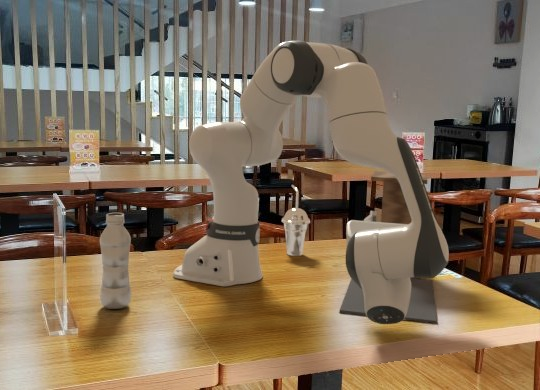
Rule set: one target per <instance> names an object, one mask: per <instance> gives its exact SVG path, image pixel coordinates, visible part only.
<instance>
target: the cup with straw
mask: <svg viewBox="0 0 540 390" xmlns="http://www.w3.org/2000/svg"><path fill="white" fill-rule="evenodd" d="M291 187H292V188H293V190H294V191H295V192H296V193H295V195H296V196H295V207H292V208H290V209H288V210H287V211H286V212H285V214H284V216H283V217H282V218H281V223H283V226H284V227H283V228H284V231H285V233H284V234H285V247H286V248H285V249H286V251H287V252H286V254H287V255H288V256H291V257H292V256H293V257H301V256H302V255H303V252H304V244H305V240H306V232H307V229H308V225H309V224H311V220H310V218H309V217H308V214H307V212H306V211H305V210H304V209H302V208H299V198H300V197H299V195H300V194H299V193H300V192H299V189H298V188H297V187H296V186H295V185H294V184H291Z"/></svg>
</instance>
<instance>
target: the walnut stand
mask: <svg viewBox="0 0 540 390" xmlns="http://www.w3.org/2000/svg"><path fill="white" fill-rule="evenodd" d="M421 176H422V179H423V182H424V185H427V184H428V176H427V174H426V173H421ZM370 181H371V182H373V181H374V182H383V185H382V198H381V199H382V200H381V214H380V215H381V216H380V218H381V219H380V222H384V223H397V224H410V223H411V222H412V219H411V216H410V213H409V210H408V207H407V204H406V201H405V198H404V195H403V192H402V189H401V186H400V183H399V181H398V180H397V178H396V177H395V176H394V175H392V174H391V173H389V172H387V171H381V170H380V171H378V170H375V171H374V172H373V173H372V175H371V176H370ZM412 278H415V277H412ZM416 279H421V278H416Z"/></svg>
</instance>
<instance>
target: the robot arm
mask: <svg viewBox="0 0 540 390" xmlns="http://www.w3.org/2000/svg"><path fill="white" fill-rule="evenodd" d="M299 96H303V97H308V98H311V99H312V98H313V99H314V98H315V99H324V101H325V103H326V107H327V113H328V115H327V116H328V122H329V123H328V124H329V130H330V137H331V141H332V144H333V147H334V150H335V151H336V152H337V154H338V155H339V156H340V157H341V158H342V159H344V160H345V161H347V162H349V163H351V164H354V165H357V166H361V167H366V168H371V169H376V170H380V171H383V172H389V173H391V174H392V175H394V176H395V177H396V178H397V180H398V181H399V183H400V186H401V189H402V192H403V195H404V198H405V201H406V204H407V207H408V210H409V213H410V216H411V219H412V222H411V223H410V224H397V223H384V222H381V221H377V220H378V219H377V218H378V211H377V210H375V211H374V210H370V212H369V215H367V216H366V217H365V218H364V219H363V220H356V219H351V220H349V221H347V223H346V227H345V228H346V230H345V231H346V232H345V235H346V247H345V248H346V249H345V268H346V270H347V273H348V275H349V277H350V278H352V280H353V281H354V282H355V283H356V284H357V285H358V286H359V287H360V288H361V289H363V295H364V308H365V314H366V318H367V319H368V320H370V321H371V322H374V323H375V324H380V325H393V324H399V323H401V322H402V321H405V320H404V318H405V317H406V315H407V312H408V308H409V303H410V297H411V280H410V278H412V277H415V278H420V279H434V278H436V277H437V276H438V275H439V274H440V273H441V272H442V271H443V270H444V269H445V268H446V266H447V265H448V264H449V259H450V258H449V255H450V253H449V245H448V242H447V239H446V237H445V235H444V233H443V230H442V228H441V227H440V224H439V222H438V220H437V217H436V214H435V212H434V211H435V210H434V209H433V205H432V203H431V200H430V197H429V194H428V191H427V188H426V184H424V182H423V179H422V176H421V174H422V173H421V171H420V168H419V165H418V163H417V160H416V157H415V155H414V153H413V150H412V149H411V146H410V144H409V143H408V142H407V140H406V139H405V138H402V137H399V136H397V135H396V133H394V131H393V130H392V128H391V125H390V124H389V121H388V114H387V109H386V104H385V103H386V102H385V98H384V95H383V90H382V88H381V85H380V81H379V79H378V76H377V74H376V71H375V70H374V68H373V67H372V66H370V65H369V64H368V61H367V59H366V58H365V57H364V55H362V54H361V53H359V52H358V51H357V50H354V49H352V48H350V47H349V48H348V47H342V46H340V45H336V44H331V43H328V42H327V43H325V42H323V43H322V42H310V41H308V42H307V41H304V40H299V39H298V40H290V41H288V40H287V41H282V42H281V43H279V44H278V45H277V46H275V47H274V48H273V50H272V51H270V53H269V54H268V55H267V56H266V57H265V59H263V61H262V62H261V64H260V65H259V66H258V68H257V69H256V71H255V72H254V74H253V75H252V77H251V79H250V81H249V82H248V84H247V85H246V87H245V89H244V90H243V92H242V93H241V95H240V99H239V106H240V110H241V113H242V115H243V116H244V118H242V119H241V120H239V121H214V122H209V123H204V124H200V125H198V126H196V127H195V128H194V129H193V131H192V132H191V135H190V137H189V142H188V148H189V153H190V155H191V157H192V159H193V161H194V162H195V163H196V164H197V165H199V166H200V167H201V168H202V169H203V170H204V172H205V173H206V175H207V177H208V179H209V181H210V185H211V189H212V194H213V196H212V197H213V218H212V219H210V220H209V222H207V223H206V225H204V229H203V230H205V231H206V232H205V233H206V235H204V236H203V237H201V238H200V239H199V240H198V241H196V242H194V244H192V245H191V246H189V247H188V248H187V250H186V251H185V252H184V255H183V258H182V264H180V265H179V266H177V267H176V268H175V269H174V270H173V275H172V276H173V277H174V278H175V279H178V280H179V279H180V280H186V281H192V282H196V283H202V284H207V285H212V286H213V285H214V286H219V287H230V286H235V285H241V284H243V285H244V284H249V283H253V282H254V283H255V282H257V281H260V280H261V279H262V278H263V276H264V275H263V272H262V267H261V263H260V255H259V243H260V239H261V238H260V234H261V229H260V222H259V220H258V219H259V193H258V190H257V188H256V187H255V186H254V185H253V184H251V183H249V182H247V180H246V178H245V176H244V171H243V168H244V167H256V166H262V165H266V164H269V163H273V162H275V161H276V160H278V159H279V158H280V156H281V154H282V151H283V149H284V140H283V136H282V133H281V131H280V127H281V125H282V122H283V120H284V119H285V118H286V116H287V114H288V112H290V110H291V108H292V107H293V105H294V103H295V102H297V99H298V97H299Z"/></svg>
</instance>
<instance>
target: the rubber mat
mask: <svg viewBox="0 0 540 390" xmlns="http://www.w3.org/2000/svg"><path fill="white" fill-rule="evenodd" d="M350 278H351V277H350ZM410 280H411V297H410V303H409V308H408V312H407V315H406V317H405V318H404V319H406V320H405V321H408V320H414V321H413V322H417V321H422V322H421V323H426V322H431V323H430V324H435V323H436V324H437V311H436V299H435V292H434V282H433V281H434V280H433V279H427V278H420V279H416V278H410ZM338 312H339V314H340V313H341V314H348V315H355V316H364V317H365V316H366V314H365V308H364V295H363V289H361V288H360V287H359V286H358V285H357V284H356V283H355V282H354V281H353V280H352V278H351V279H350V282H349V284H348V286H347V289H346V292H345V294H344V298H343V300H342V302H341V305H340V308H339V311H338ZM366 317H367V316H366Z"/></svg>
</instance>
